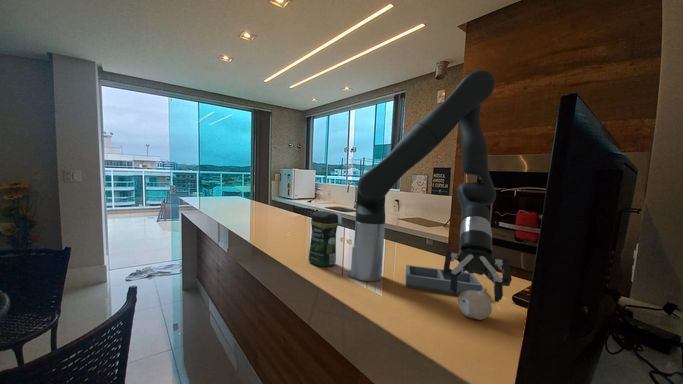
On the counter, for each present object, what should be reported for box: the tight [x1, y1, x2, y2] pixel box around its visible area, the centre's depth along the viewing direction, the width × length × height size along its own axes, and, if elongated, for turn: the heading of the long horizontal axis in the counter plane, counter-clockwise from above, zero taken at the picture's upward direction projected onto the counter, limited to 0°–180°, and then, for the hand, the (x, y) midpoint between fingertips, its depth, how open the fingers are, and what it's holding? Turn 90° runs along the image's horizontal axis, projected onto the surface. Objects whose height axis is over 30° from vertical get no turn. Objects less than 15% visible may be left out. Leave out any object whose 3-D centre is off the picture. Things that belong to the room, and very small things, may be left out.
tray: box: [405, 264, 483, 296], centre depth 79 cm, size 20×11×4 cm, turn 76°
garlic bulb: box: [457, 287, 493, 321], centre depth 60 cm, size 7×6×8 cm
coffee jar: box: [308, 210, 339, 268], centre depth 94 cm, size 10×8×19 cm
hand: (475, 296), depth 60 cm, fingers open, 8 cm apart
